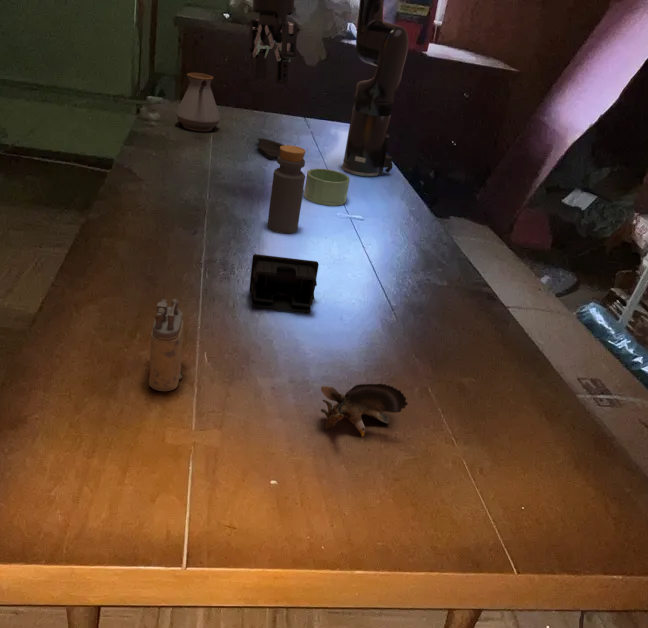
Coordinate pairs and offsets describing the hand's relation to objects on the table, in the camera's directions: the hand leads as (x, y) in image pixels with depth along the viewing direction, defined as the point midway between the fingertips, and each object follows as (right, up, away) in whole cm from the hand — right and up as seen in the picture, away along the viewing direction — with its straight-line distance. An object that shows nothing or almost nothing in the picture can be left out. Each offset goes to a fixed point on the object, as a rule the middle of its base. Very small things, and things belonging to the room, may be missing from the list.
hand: (270, 81), depth 140 cm
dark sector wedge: (-1, 0, +43) cm, 43 cm away
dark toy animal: (+13, -64, -52) cm, 83 cm away
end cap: (+3, -46, -26) cm, 53 cm away
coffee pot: (-21, +8, +49) cm, 54 cm away
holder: (+11, -17, +19) cm, 28 cm away
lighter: (-10, -58, -49) cm, 77 cm away
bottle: (+2, -28, +1) cm, 28 cm away
